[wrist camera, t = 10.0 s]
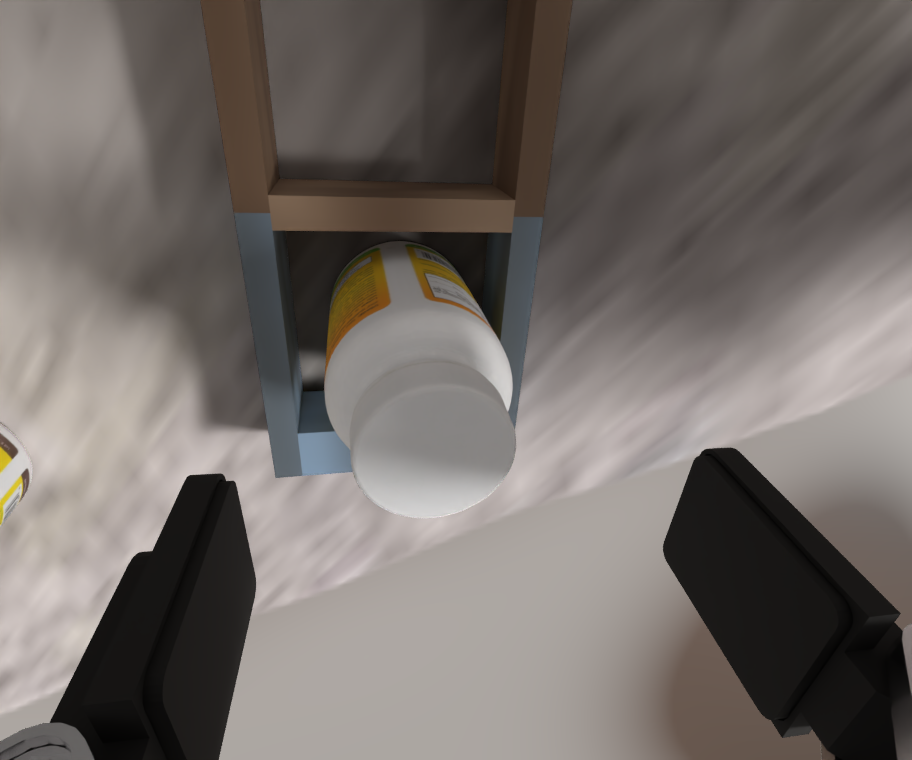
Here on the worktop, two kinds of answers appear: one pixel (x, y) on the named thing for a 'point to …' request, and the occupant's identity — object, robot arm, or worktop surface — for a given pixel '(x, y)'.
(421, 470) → the supplement bottle
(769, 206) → the worktop surface
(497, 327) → the slot rack
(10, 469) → the supplement bottle
